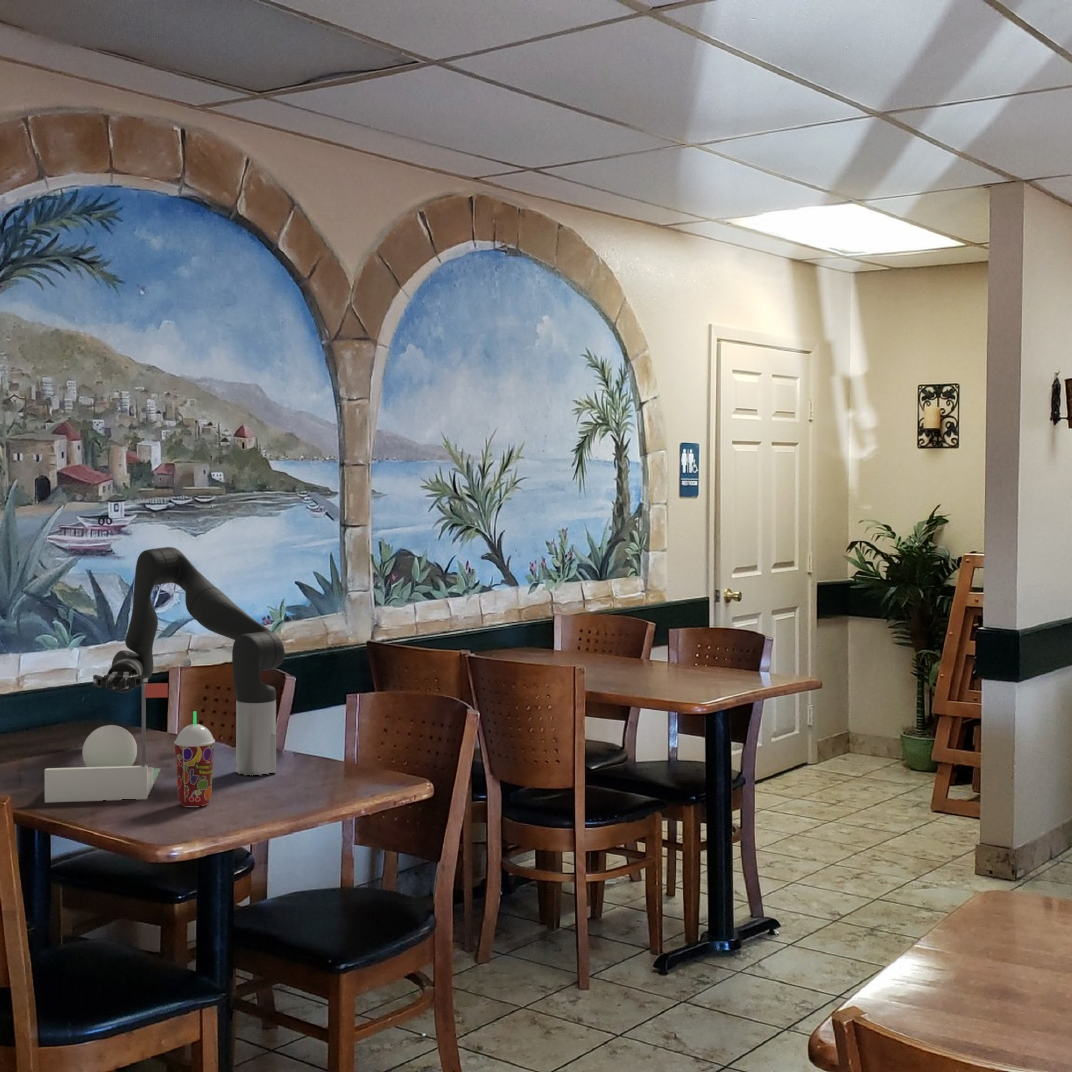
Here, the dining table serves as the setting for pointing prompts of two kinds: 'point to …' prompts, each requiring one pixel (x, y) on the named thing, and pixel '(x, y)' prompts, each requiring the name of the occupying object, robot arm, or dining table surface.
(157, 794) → the dining table surface
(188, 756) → the smoothie
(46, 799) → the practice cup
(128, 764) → the ball
